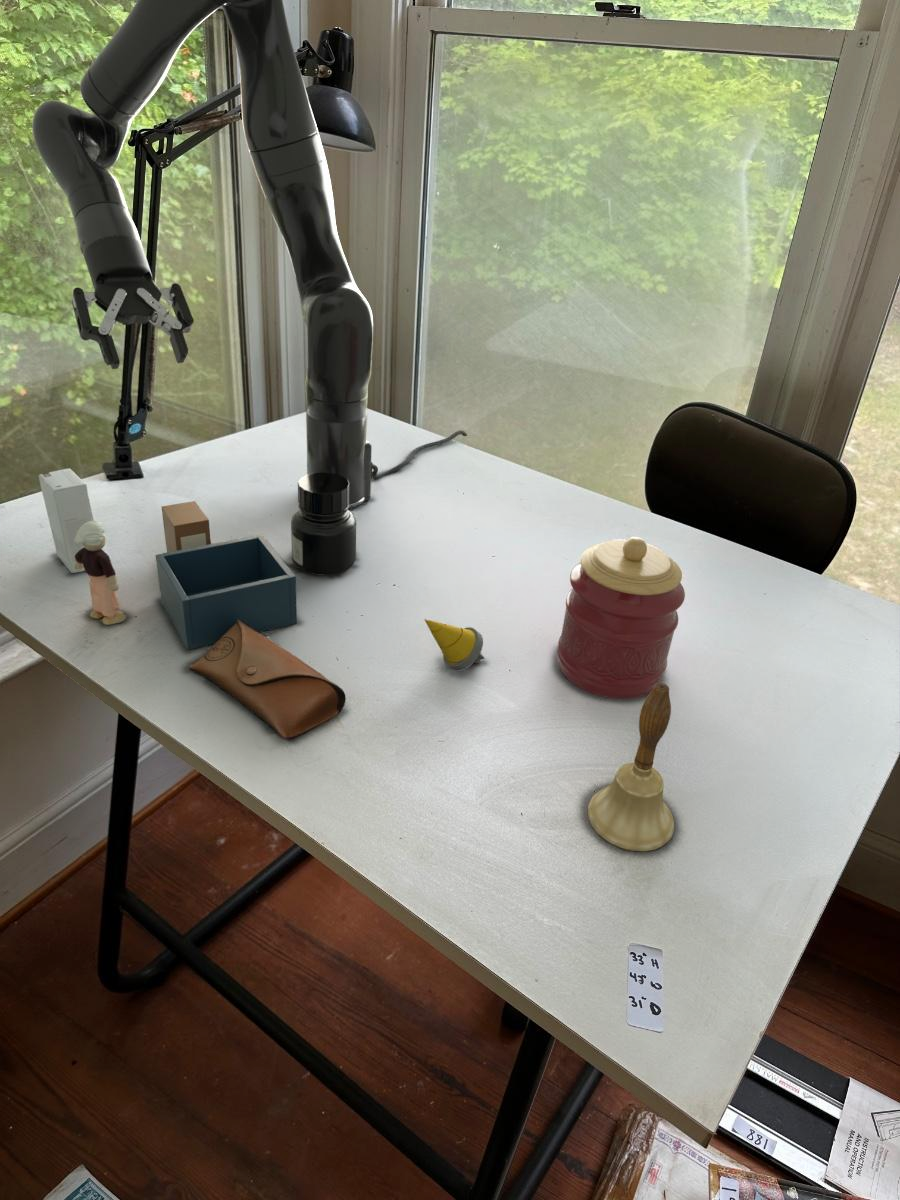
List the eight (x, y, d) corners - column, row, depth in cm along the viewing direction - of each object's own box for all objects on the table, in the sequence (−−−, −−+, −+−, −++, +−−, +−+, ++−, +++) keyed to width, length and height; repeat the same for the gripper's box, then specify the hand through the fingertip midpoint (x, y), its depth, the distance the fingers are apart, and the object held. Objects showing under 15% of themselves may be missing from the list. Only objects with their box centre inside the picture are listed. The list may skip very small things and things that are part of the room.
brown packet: (200, 552, 118) (195, 500, 114) (213, 573, 114) (209, 520, 110) (167, 559, 116) (161, 506, 112) (180, 580, 112) (174, 526, 108)
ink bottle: (306, 540, 123) (304, 464, 117) (364, 550, 122) (366, 473, 116) (281, 572, 115) (278, 492, 109) (343, 583, 114) (344, 503, 108)
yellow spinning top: (485, 685, 98) (427, 642, 93) (457, 679, 103) (400, 637, 97) (505, 645, 100) (449, 600, 95) (476, 641, 104) (422, 598, 99)
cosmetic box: (104, 566, 113) (90, 483, 107) (69, 575, 111) (53, 491, 104) (87, 547, 117) (73, 466, 111) (53, 555, 115) (37, 473, 108)
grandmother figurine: (141, 616, 104) (127, 524, 97) (118, 631, 101) (103, 537, 94) (93, 598, 107) (76, 507, 100) (69, 612, 104) (51, 520, 97)
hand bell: (576, 832, 80) (605, 700, 71) (599, 776, 86) (628, 649, 78) (664, 864, 77) (704, 731, 69) (681, 805, 84) (720, 676, 75)
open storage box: (264, 579, 114) (261, 534, 110) (297, 623, 105) (296, 576, 102) (161, 601, 107) (155, 554, 104) (187, 650, 99) (182, 601, 95)
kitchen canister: (536, 646, 105) (556, 519, 96) (624, 629, 110) (651, 506, 100) (591, 711, 95) (619, 576, 86) (685, 689, 100) (722, 559, 90)
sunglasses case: (181, 666, 96) (202, 612, 95) (227, 668, 102) (247, 618, 101) (287, 742, 86) (312, 683, 86) (331, 740, 92) (354, 685, 92)
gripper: (57, 233, 105) (96, 354, 103) (172, 232, 112) (209, 344, 111) (53, 268, 111) (89, 382, 110) (161, 264, 118) (196, 371, 117)
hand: (149, 363), depth 110 cm, fingers open, 8 cm apart
